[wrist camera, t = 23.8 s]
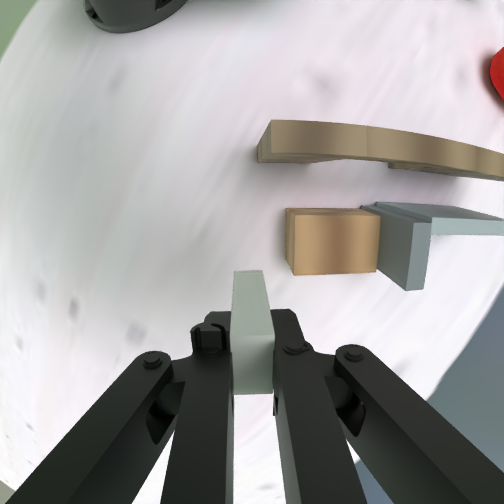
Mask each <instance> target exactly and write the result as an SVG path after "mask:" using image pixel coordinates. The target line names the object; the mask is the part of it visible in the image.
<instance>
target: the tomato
mask: <svg viewBox="0 0 504 504" xmlns="http://www.w3.org/2000/svg"><path fill="white" fill-rule="evenodd" d="M490 76H491V80H492V84H493V85H494V87H495V88H496V90H497V91H498V93H499V94H500V96H501V97H502V99H503V100H504V47H503V48H502V49H501V50H499V51H498V52H497V53H496V55H495V56H494V57H493V59H492V62H491V66H490Z"/></svg>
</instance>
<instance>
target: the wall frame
mask: <svg viewBox="0 0 504 504" xmlns="http://www.w3.org/2000/svg"><path fill="white" fill-rule="evenodd" d="M340 159H356V160H369V161H381V162H389V168H395V169H405V170H414V171H423V172H431V173H438V174H446V175H453V176H460V177H470V178H480V179H488V180H497V181H504V154H502V153H499V152H495V151H492V150H488V149H485V148H481V147H477V146H473V145H470V144H466V143H461V142H457V141H453V140H448V139H444V138H439V137H434V136H429V135H424V134H418V133H413V132H407V131H401V130H394V129H387V128H380V127H372V126H364V125H354V124H344V123H332V122H318V121H299V120H271V121H270V123H269V124H268V126H267V128H266V130H265V132H264V134H263V136H262V138H261V139H260V141H259V143H258V163H316V162H324V161H332V160H340Z"/></svg>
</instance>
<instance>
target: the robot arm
mask: <svg viewBox="0 0 504 504" xmlns="http://www.w3.org/2000/svg"><path fill="white" fill-rule="evenodd" d="M186 1H187V0H83V4H84V8H85V11H86V13H87V15H88V17H89V18H90V19H91V20H92V21H93V22H94V23H95V24H96V25H97V26H98V27H100V28H101V29H103V30H106V31H110V32H117V33H124V32H132V31H137V30H140V29H144V28H147V27H149V26H152V25H154V24H156V23H158V22H160V21H162V20H164V19H166V18H167V17H169V16H170V15H172V14H173V13H174V12H176V11H177V10H178V9H179V8H180V7H181V6H182V5H183V4H184V3H185V2H186ZM190 333H191V341H192V348H193V352H192V355H191V356H189V357H186V358H183V359H178V360H172V361H171V358H170V356H169V355H168V354H167V353H164V352H161V351H149V352H145V353H143V354H141V355H139V356H138V357H137V358H135V360H134V361H133V362H132V363H131V364H130V365H129V366H128V367H127V368H126V369H125V370H124V371H123V373H122V374H121V375H120V376H119V377H118V378H117V379H116V380H115V381H114V382H113V383H112V385H111V386H110V387H109V388H108V389H107V390H106V391H105V392H104V393H103V394H102V395H101V397H100V398H99V399H98V400H97V401H96V402H95V403H94V404H93V405H92V406H91V408H90V409H89V410H88V411H87V412H86V413H85V414H84V415H83V416H82V417H81V419H80V420H79V421H78V422H77V423H76V424H75V425H74V426H73V427H72V429H71V430H70V431H69V432H68V433H67V434H66V435H65V436H64V437H63V439H62V440H61V441H60V442H59V443H58V444H57V445H56V446H55V448H54V449H53V450H52V451H51V452H50V453H49V454H48V455H47V456H46V458H45V459H44V460H43V461H42V462H41V463H40V464H39V466H38V467H37V468H36V469H35V470H34V471H33V472H32V473H31V475H30V476H29V477H28V478H27V479H26V480H25V481H24V483H23V484H22V485H21V486H20V487H19V488H18V489H17V491H16V492H15V493H14V494H13V495H12V496H11V498H10V499H9V500H8V501H7V502H6V503H5V504H132V502H133V501H134V499H135V497H136V496H137V494H138V492H139V490H140V489H141V487H142V485H143V484H144V482H145V480H146V479H147V477H148V475H149V473H150V472H151V470H152V468H153V467H154V465H155V463H156V461H157V460H158V458H159V456H160V454H161V453H162V451H163V449H164V448H165V446H166V444H167V442H168V441H169V439H170V437H171V435H172V434H173V432H174V430H175V432H174V436H173V441H172V446H171V451H170V455H169V460H168V465H167V470H166V475H165V481H164V486H163V491H162V496H161V502H160V504H233V458H234V395H244V394H272V393H273V390H274V402H273V416H275V419H276V426H277V434H278V442H279V450H280V458H281V466H282V474H283V482H284V490H285V498H286V504H367V501H366V498H365V495H364V492H363V489H362V486H361V483H360V480H359V477H358V474H357V471H356V468H355V465H354V462H353V459H352V456H351V453H350V450H349V447H348V444H347V441H348V442H349V443H350V445H351V446H352V448H353V449H354V450H355V452H356V453H357V455H358V456H359V457H360V459H361V460H362V461H363V463H364V464H365V465H366V467H367V468H368V470H369V471H370V472H371V474H372V475H373V476H374V478H375V479H376V480H377V481H378V483H379V484H380V486H381V487H382V488H383V490H384V491H385V492H386V493H387V495H388V496H389V498H390V499H391V500H392V502H393V503H394V504H504V473H503V472H502V471H501V470H500V469H499V468H498V467H497V466H496V465H495V464H494V463H493V462H492V461H490V460H489V459H488V458H487V457H486V456H485V455H484V454H483V453H482V452H481V451H479V450H478V449H477V448H476V447H475V446H474V445H473V444H472V443H471V442H470V441H469V440H468V439H466V438H465V437H464V436H463V435H462V434H461V433H460V432H459V431H458V430H457V429H455V427H453V426H452V425H451V424H450V423H449V422H448V421H447V420H446V419H445V418H443V416H441V415H440V414H439V413H438V412H437V411H436V410H435V409H434V408H433V407H431V406H430V405H429V404H428V403H427V402H426V401H425V400H424V399H423V398H422V397H421V396H419V395H418V394H417V393H416V392H415V391H414V390H413V389H412V388H411V387H410V386H408V385H407V384H406V383H405V382H404V381H403V380H402V379H401V378H400V377H399V376H397V375H396V374H395V373H394V372H393V371H392V370H391V369H390V368H389V367H387V366H386V365H385V364H384V363H383V362H382V361H381V360H380V359H379V358H378V357H376V356H375V355H374V354H373V353H372V352H371V351H370V350H368V349H367V348H365V347H363V346H360V345H354V344H349V345H344V346H341V347H339V348H338V349H337V350H336V353H335V355H330V354H322V353H318V352H315V351H314V349H313V347H312V345H311V344H310V343H308V342H307V341H305V339H304V336H303V333H302V330H301V328H300V326H299V322H298V319H297V316H296V314H295V313H294V312H293V311H291V310H290V309H272V310H270V307H269V302H268V297H267V292H266V286H265V281H264V276H263V271H262V270H257V271H234V282H233V296H232V310H231V311H222V312H210V313H209V314H208V315H207V316H206V317H205V320H204V322H203V323H200V324H197V325H196V326H194V327H193V328H192V329H191V331H190ZM346 439H347V441H346Z"/></svg>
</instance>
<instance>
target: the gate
mask: <svg viewBox="0 0 504 504" xmlns="http://www.w3.org/2000/svg"><path fill="white" fill-rule="evenodd" d="M361 209H362V210H365V211H368V212H371V213H374V214H377V215H380V216H381V222H380V237H379V249H378V260H377V269H378V270H379V271H381V272H382V273H383V274H385V275H386V276H387V277H388V278H390V279H391V280H392V281H394V282H395V283H396V284H397V285H399V286H400V287H401V288H402V289H404V290H405V291H411V290H422V289H423V288H424V282H425V276H426V269H427V262H428V255H429V247H430V238H431V235H502V236H504V219H502V218H499V217H495V216H491V215H488V214H484V213H480V212H476V211H472V210H468V209H464V208H459V207H455V206H443V205H428V204H411V203H391V202H376V206H361Z"/></svg>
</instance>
